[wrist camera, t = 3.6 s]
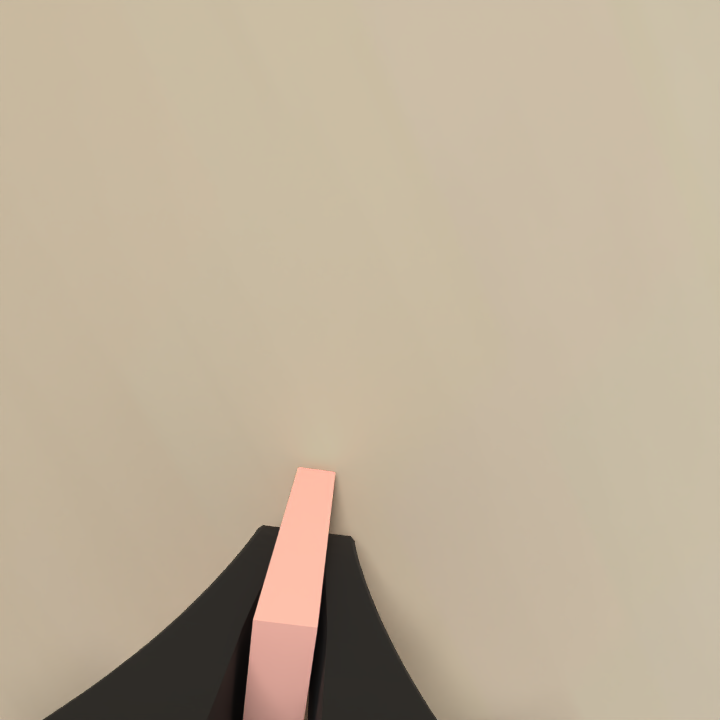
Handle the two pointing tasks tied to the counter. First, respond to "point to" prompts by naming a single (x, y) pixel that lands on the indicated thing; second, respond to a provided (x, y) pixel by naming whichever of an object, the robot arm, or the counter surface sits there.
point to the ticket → (290, 604)
